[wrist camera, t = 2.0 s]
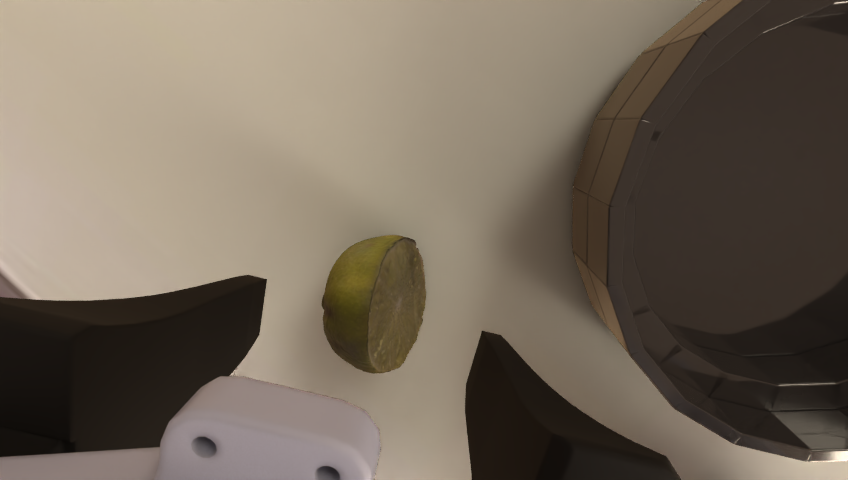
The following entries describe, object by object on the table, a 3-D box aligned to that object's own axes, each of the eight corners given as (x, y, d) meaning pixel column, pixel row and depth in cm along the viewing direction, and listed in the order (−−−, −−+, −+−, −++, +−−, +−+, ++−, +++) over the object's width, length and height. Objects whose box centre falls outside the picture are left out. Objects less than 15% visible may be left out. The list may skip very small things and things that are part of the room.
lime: (398, 206, 18) (379, 238, 13) (464, 298, 18) (469, 361, 14) (314, 264, 18) (266, 314, 14) (381, 349, 19) (358, 424, 15)
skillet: (875, 419, 19) (1001, 509, 14) (519, 334, 19) (539, 398, 14) (1120, 28, 14) (1407, -12, 10) (656, -86, 14) (745, -175, 10)
